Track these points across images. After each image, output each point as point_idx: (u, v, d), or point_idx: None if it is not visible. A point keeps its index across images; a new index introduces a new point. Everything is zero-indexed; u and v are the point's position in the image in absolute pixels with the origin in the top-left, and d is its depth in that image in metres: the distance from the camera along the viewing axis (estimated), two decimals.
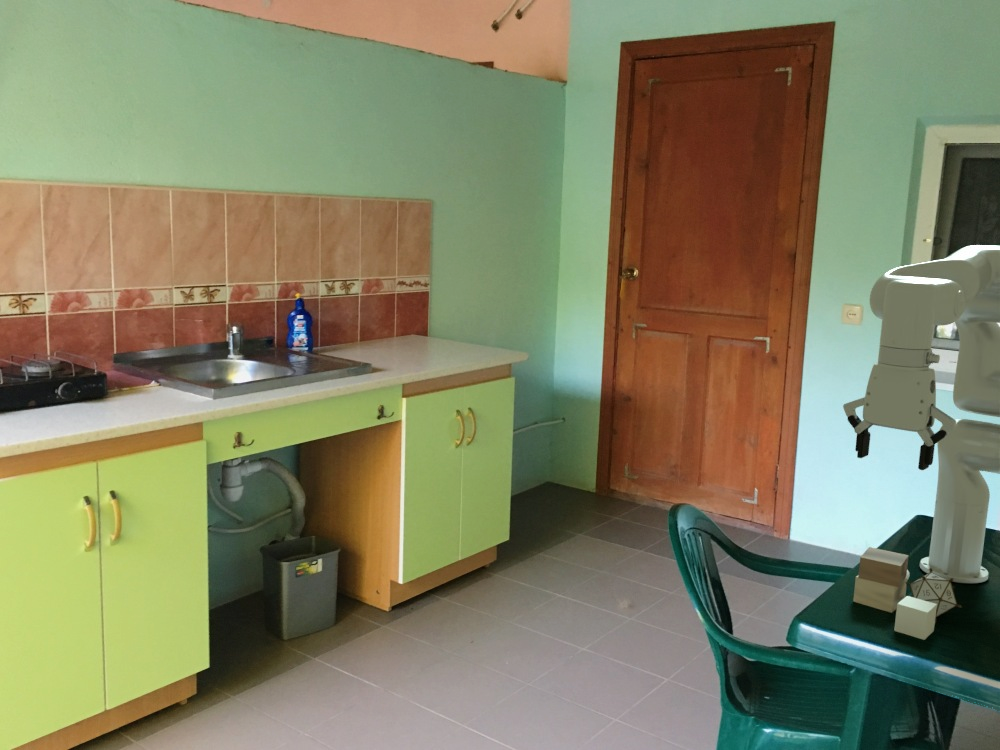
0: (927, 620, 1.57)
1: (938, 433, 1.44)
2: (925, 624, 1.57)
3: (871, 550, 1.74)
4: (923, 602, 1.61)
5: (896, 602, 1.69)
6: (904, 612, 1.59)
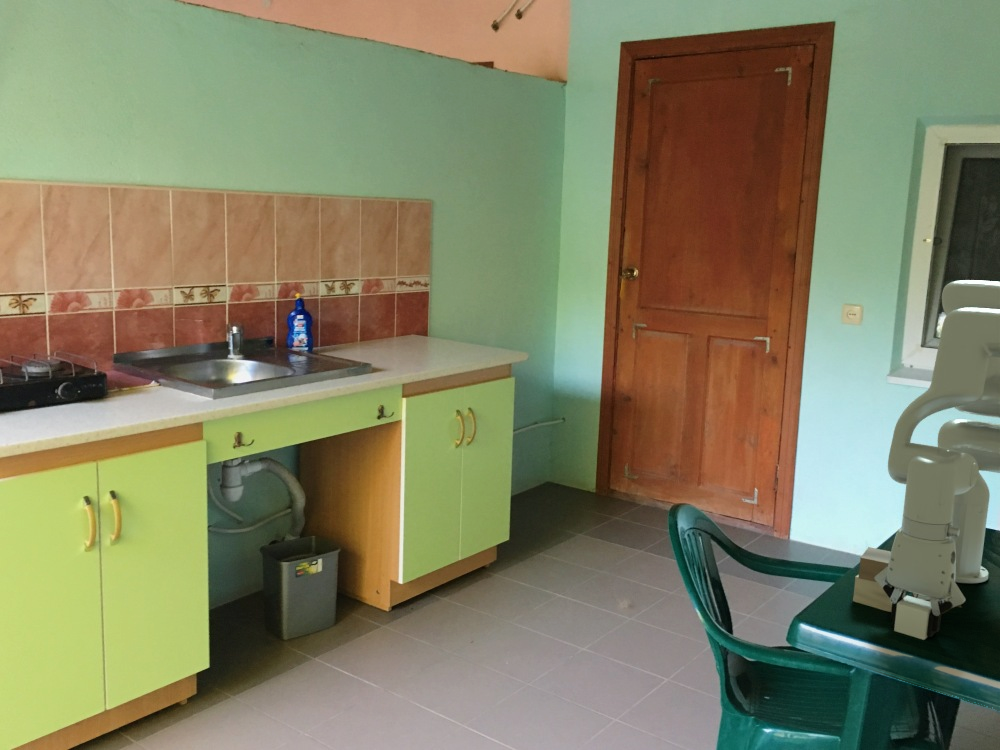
0: (927, 620, 1.57)
1: (945, 604, 1.56)
2: (925, 624, 1.57)
3: (871, 550, 1.74)
4: (923, 601, 1.61)
5: None
6: (904, 612, 1.59)
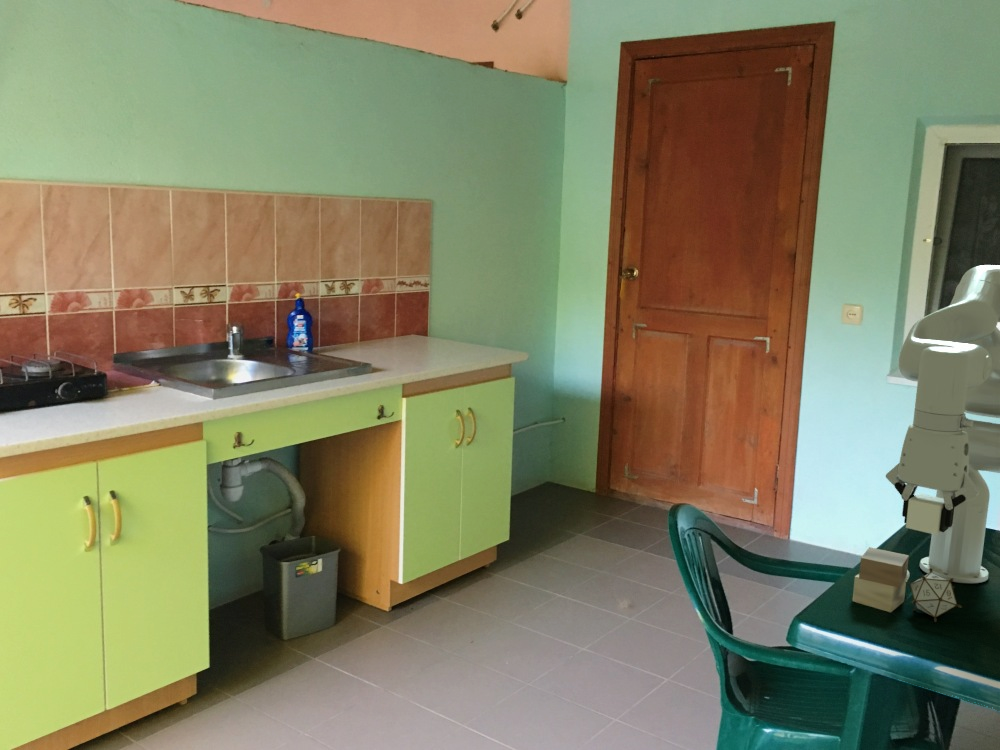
0: (939, 514, 1.54)
1: (958, 498, 1.53)
2: (937, 518, 1.54)
3: (871, 550, 1.74)
4: (935, 498, 1.58)
5: (895, 602, 1.69)
6: (916, 507, 1.56)
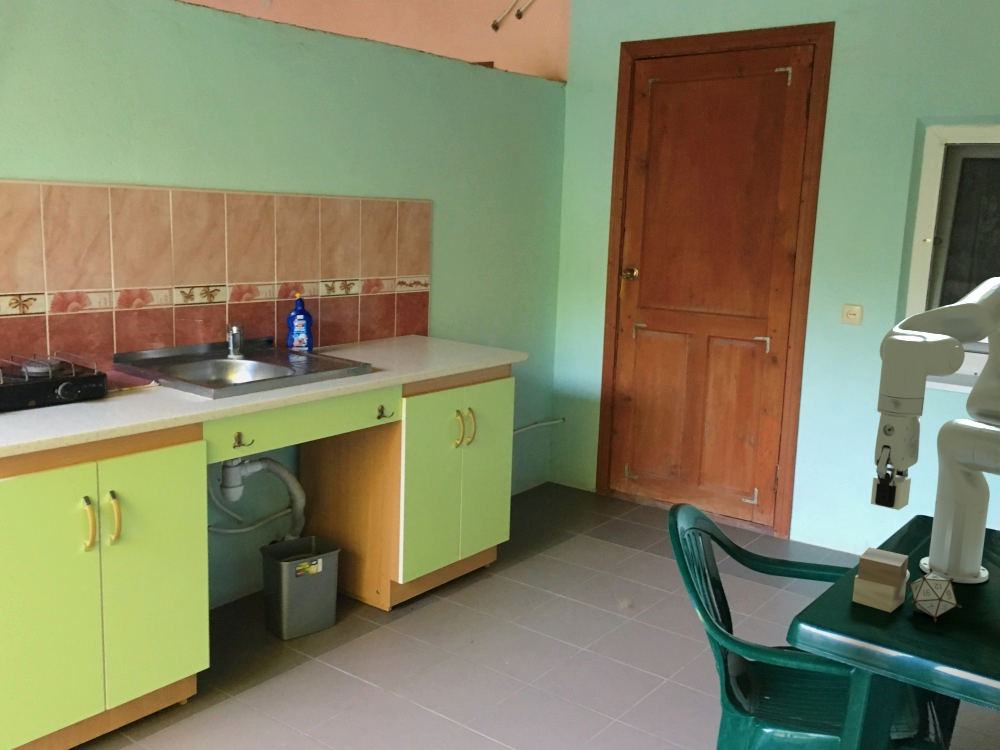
0: (875, 486, 1.69)
1: None
2: (872, 489, 1.69)
3: (871, 550, 1.74)
4: (899, 479, 1.68)
5: (895, 602, 1.69)
6: None
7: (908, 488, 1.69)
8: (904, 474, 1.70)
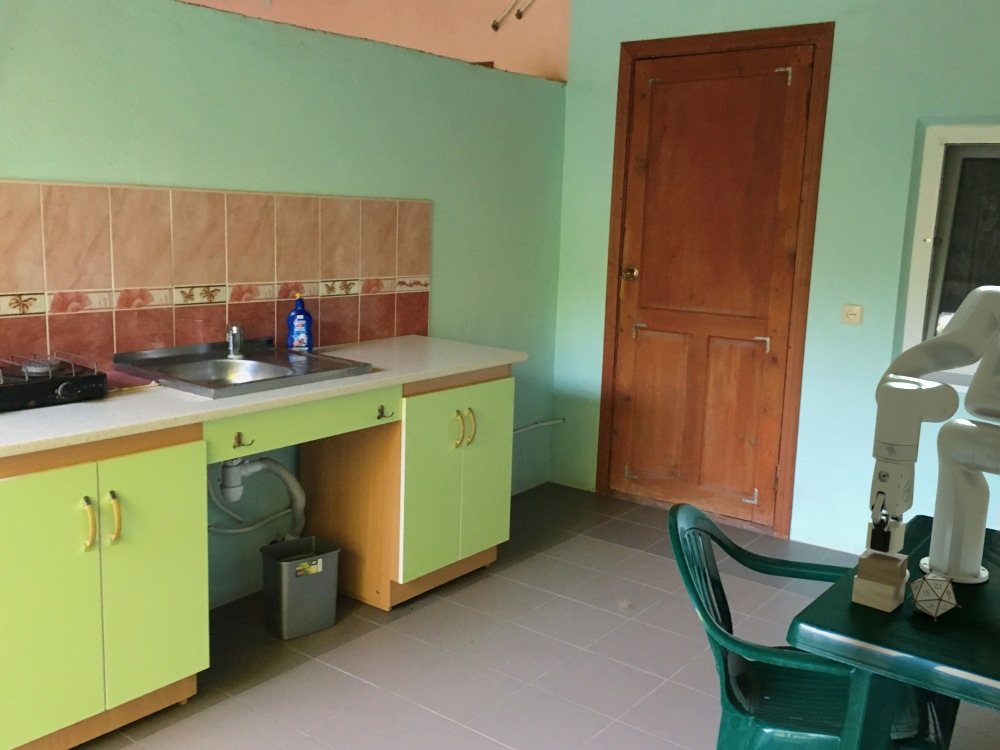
0: (870, 530, 1.70)
1: None
2: (867, 533, 1.70)
3: (870, 550, 1.74)
4: (894, 524, 1.69)
5: (894, 602, 1.69)
6: None
7: (902, 533, 1.70)
8: (899, 519, 1.71)
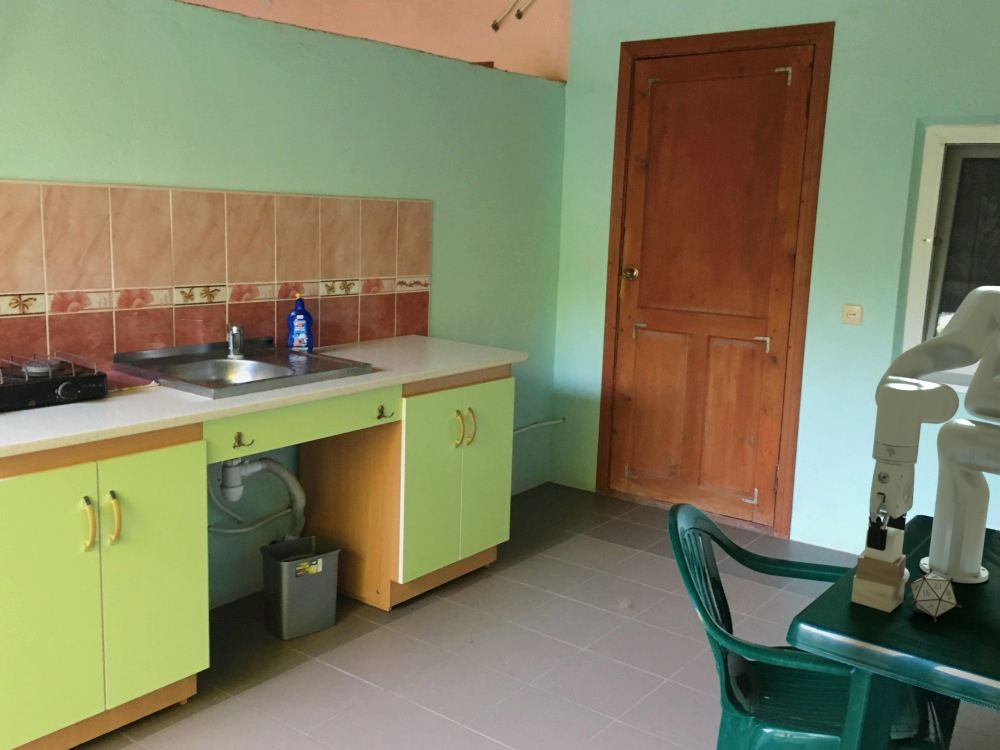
0: None
1: None
2: (866, 541, 1.71)
3: None
4: (893, 533, 1.69)
5: (894, 602, 1.69)
6: None
7: (901, 541, 1.70)
8: (903, 514, 1.73)
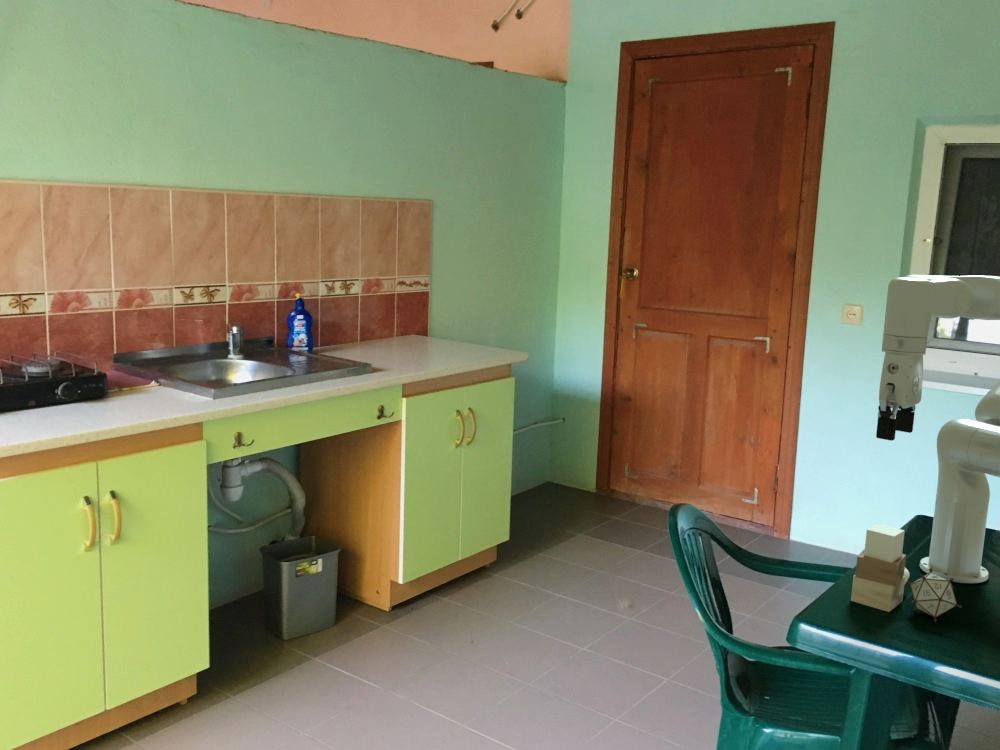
0: (868, 538, 1.70)
1: None
2: (866, 540, 1.71)
3: None
4: (893, 532, 1.69)
5: (894, 601, 1.70)
6: None
7: (901, 541, 1.70)
8: (911, 408, 1.76)
